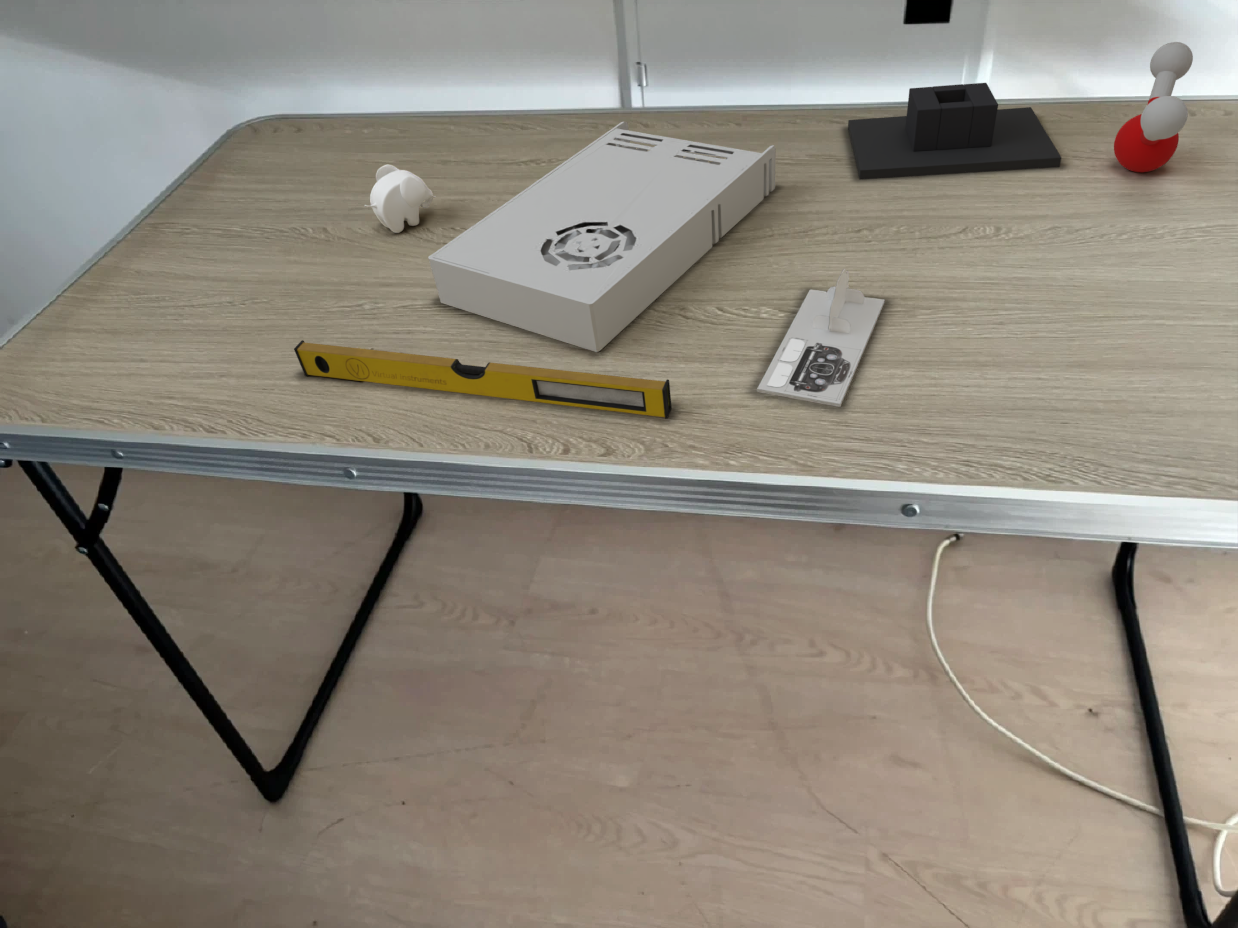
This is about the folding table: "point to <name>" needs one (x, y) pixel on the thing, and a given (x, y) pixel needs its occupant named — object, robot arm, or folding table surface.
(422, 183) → the elephant figurine
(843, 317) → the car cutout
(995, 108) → the black socket block
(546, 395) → the spirit level
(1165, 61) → the molecular model
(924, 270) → the folding table surface
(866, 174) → the base pad
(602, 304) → the power supply unit
